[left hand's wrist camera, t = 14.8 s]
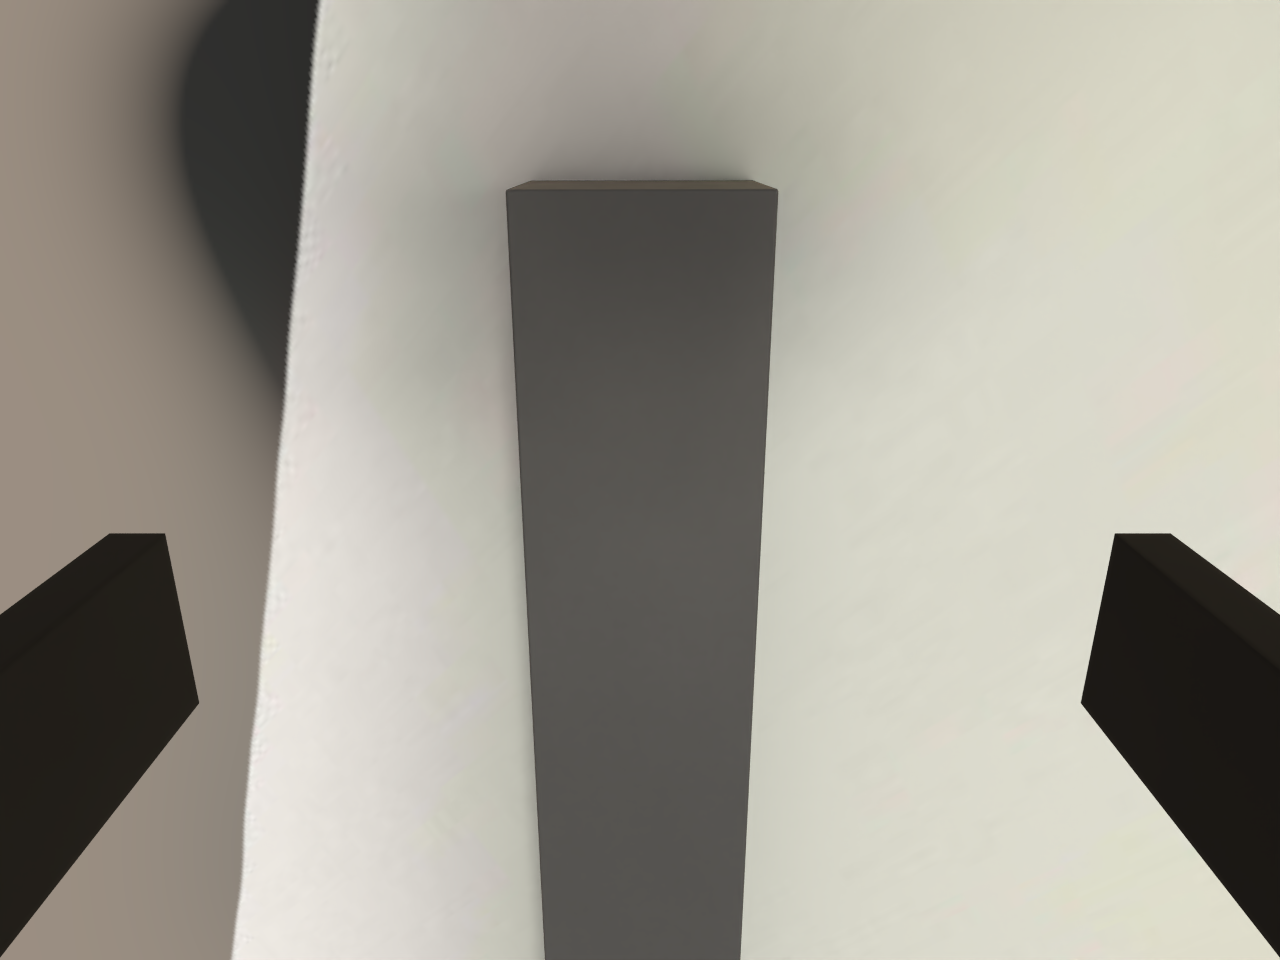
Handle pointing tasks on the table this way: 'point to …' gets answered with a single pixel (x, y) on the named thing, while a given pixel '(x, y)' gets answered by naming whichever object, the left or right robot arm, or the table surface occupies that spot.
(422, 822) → the table surface
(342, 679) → the table surface
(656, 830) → the thick board
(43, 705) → the left robot arm
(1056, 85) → the table surface
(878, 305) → the table surface
